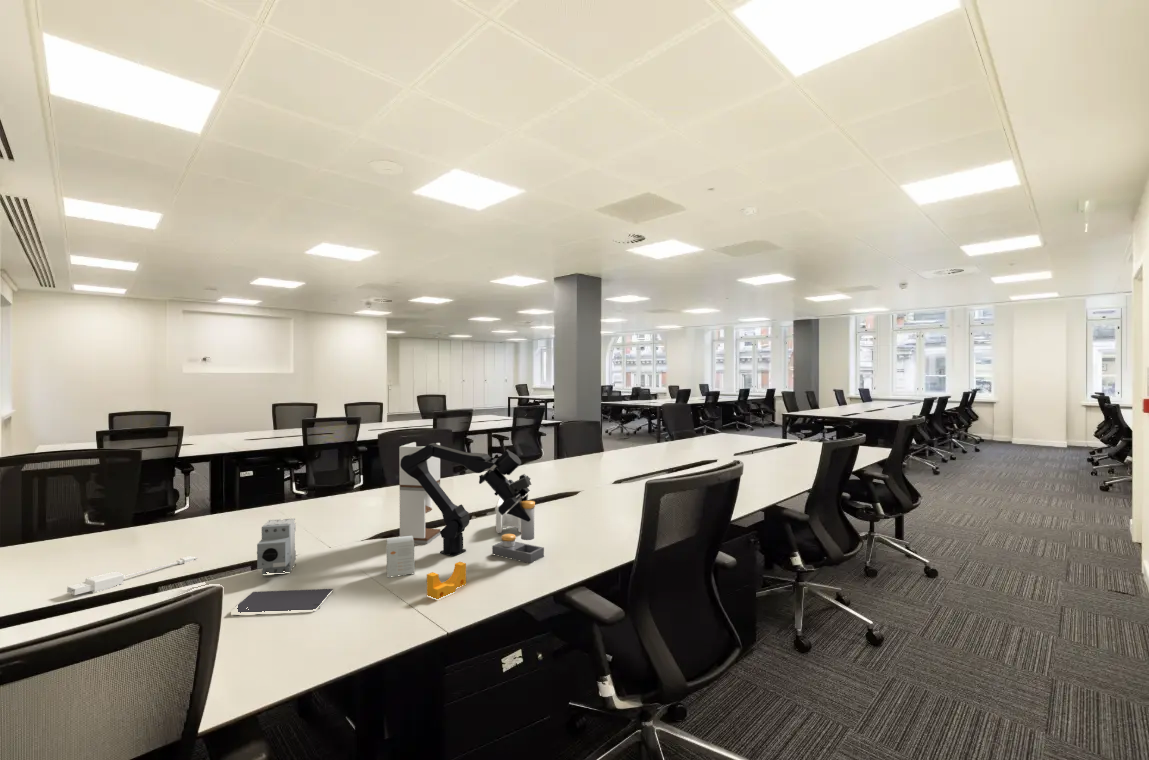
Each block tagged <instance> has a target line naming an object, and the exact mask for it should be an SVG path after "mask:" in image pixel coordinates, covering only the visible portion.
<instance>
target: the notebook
mask: <svg viewBox="0 0 1149 760" xmlns="http://www.w3.org/2000/svg"><path fill="white" fill-rule="evenodd" d="M332 590H333V591H334V589H333V588H316V589H315V588H314V589H312V588H311V589H292V590H291V589H290V590H289V589H288V590H287V589H286V590H269V591H268V590H265V591H252V592H251V593H250V594H248V595H247V597H245V598H244V599H243V600H242V601H240V602H239V603H238V604H237V605H238V608H237V609H238V612H240V613H241V612H262V611H264V612H265V611H288V610H289V611H291V610H313V609H316V608H317V607H318V606H319V605H320V604H321V603H322V601H323V600H324V599H325V598H326V597H327V595H328V594H329V593H330V592H331V591H332ZM247 607H248V608H247ZM246 608H247V609H246ZM248 609H249V610H248Z"/></svg>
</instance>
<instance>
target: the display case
mask: <svg viewBox="0 0 1149 760" xmlns="http://www.w3.org/2000/svg"><path fill="white" fill-rule="evenodd" d="M435 444H437V445H440V446H441V443H440V442H436V443H435ZM425 446H426V445H425ZM425 446H417V442H416V441H413V442H410V443H406V444H404V445H403V444H402V445H401V446H399V448H398V449H399V451H398V452H399V537H404V536H413V539H414V545H415V544H416V545H417V544H419V545H428V544H430V543H431V542H432V541H434V540H435V539H437V538H438V537H439V536H441V534H440V531H441V529H440V528H427V527H426V514H428V513H430V512H431V511H432V510H433V500H432V499H431V498H430V496H429V495H428V494H427V492H426V491H425V490H424V488H423V487H422V486H421V484H420V483H419V482H418V481H417V480H416V479H415V478H413V477H411V476H409V475H408V474H407V473H406V472H405V471H404V470H403V469H402V468H401V466H400V464H401V459H402V458H403V457H404V456H406V455H409V454H412V453H415V452H417V451H419V450H421V449H422V448H424V447H425ZM426 463H427V466H428V470H429V473H430V474H431V475H432V476H433V478H434V479H435V480H436V482H437V483H438V484H439V486H440V487H441V459H440V458H436V457H433V456H432V457H431V458H429V459H428V460H426Z"/></svg>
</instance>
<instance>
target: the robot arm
mask: <svg viewBox="0 0 1149 760" xmlns="http://www.w3.org/2000/svg"><path fill="white" fill-rule="evenodd" d="M432 456H433V457H436V458H440V460H445V461H447V462H452V463H454V464H459V465H461V466H464V467H465V468H466V469H467V470H469V471H471V472H473V473H475V474H480V475H479V476H478V477H479V479H478V480H479V481H478V483H479V484H478V485H480V484H481V485H482V484H483V483H484V482H486V483H487V484H488V485H489V487H490V488H491V489H492V490H493V491H494V493H493V494H494V496H498V497H499V498H501V499H502V500H503V501H504V502H503V503H502V504H501V505H500V506H499V507H498V511H499V512H500V514H501V515H503V514H505V513H506V511H508V510H510V511H509V512H508V513H507V514H510V515H513V516H516V517H518V518H521V519H523V520H525V521H528V522H529V521H530V520H531V519H530V517H529V516H528V514H527V513H526V511H525V510H524V509H523V507H522V501H529V492H530V491H531V490H530V488H529V487H530V486H531V485H532V483H531V481H530V480H531V477H529V476H528V475H526V474H525V473H523V474H521V475H519V479H517V480H515V481H513V479H509V480H508V478H507V477H506V475H507V476H510V475H511V474H513V472H514V471H515V470H516V469H518V468H519V466H521V465H522V460H521V459H520V458H519V456H518V455H517V454H516V453H513V452H512V451H510V450H509V449H505V450H504V451H503V453H501V455H500V456H499V457H497V458H496V457H491V456H490V455H489V454H487V453H481V452H467V451H466V452H465V451H462V450H458V449H455V448H450V447H447V446H443V445H441V444H440V445H437V444H436V443H434V442H432V443H429V444H427V445H425V447H424V448H422V449H421V450H419V451H417V452H415V453H412V454H409V455H406V456H404V457H403V458H402V459H401V464H399V467H400V466H401V468H402V469H403V470H404V471H405V472H406V473H407V474H408V475H409V476H411V477H413V478H415V479H416V480H417V481H418V482H419V483H420V484H421V486H422V487H423V488H424V490H425V491H426V492H427V494H428V495H429V496H430V498H431V499H432V502H433V503H434V504H435V506H436V507H437V508H438V509H439V511H440V512H441V515H442V520H443V522H444V525H445V526H444V527H443V528H441V529H440V536H441V538H442V540H443V541H442V546H443V547H442V548H443V550H440V551H439V554H441V555H442V554H443V555H446V556H451V557H455V556H457V555H460V554H462V553H465V552H466V551H467V549H466V548H464V536H463V534H464V533H463V532H464V531H466V530H465V528H467V527H468V526H469V524H470V522H471V521H470V519H471V518H470V515H469V514H470V513H469V511H467V509H465V507H464V505H463V504H459V505H456V504H455V503H454V502H453V501H452V499H451V498H449V496H448V494H447V493H445V490H443V488H442V487H441V485H440V486H439V484H438V483H437V482H436V480H435V479H434V478H433V476H432V475H431V474H430V473H429V470H428V466H427V463H426V460H428V459H429V458H431V457H432ZM493 467H494V468H493ZM491 468H493V469H491ZM485 471H486V472H485ZM484 472H485V473H484ZM482 473H484V474H482Z"/></svg>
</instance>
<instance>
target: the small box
mask: <svg viewBox="0 0 1149 760" xmlns="http://www.w3.org/2000/svg"><path fill="white" fill-rule="evenodd" d="M415 572H416V571H415V543H414V539H413V536H404V537H400V536H398V537H397V536H396V537H388V538H386V575H387V578H388V577H389V578H392V577H391V576H396V577H399V576H398V575H403V576H407V575H406V574H411V575H413V574H412V573H414V574H415Z"/></svg>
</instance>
